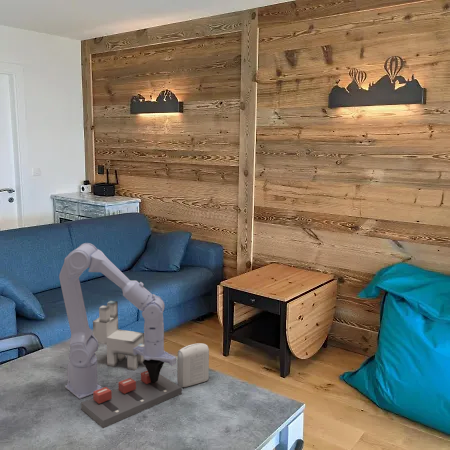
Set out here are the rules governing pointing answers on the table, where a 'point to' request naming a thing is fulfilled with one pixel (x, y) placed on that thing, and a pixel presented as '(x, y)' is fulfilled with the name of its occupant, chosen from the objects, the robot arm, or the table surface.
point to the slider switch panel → (131, 401)
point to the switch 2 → (127, 385)
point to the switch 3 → (145, 377)
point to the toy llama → (117, 337)
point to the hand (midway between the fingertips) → (154, 381)
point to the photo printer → (193, 364)
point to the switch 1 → (102, 395)
